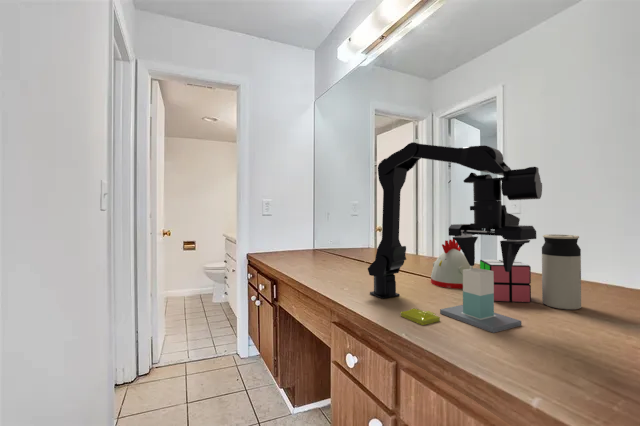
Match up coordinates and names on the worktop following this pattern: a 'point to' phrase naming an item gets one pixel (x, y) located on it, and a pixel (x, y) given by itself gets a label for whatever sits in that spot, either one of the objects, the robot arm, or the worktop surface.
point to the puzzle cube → (510, 281)
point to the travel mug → (561, 272)
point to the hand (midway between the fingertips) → (488, 268)
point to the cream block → (478, 281)
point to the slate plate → (482, 319)
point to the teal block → (478, 305)
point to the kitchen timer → (450, 267)
